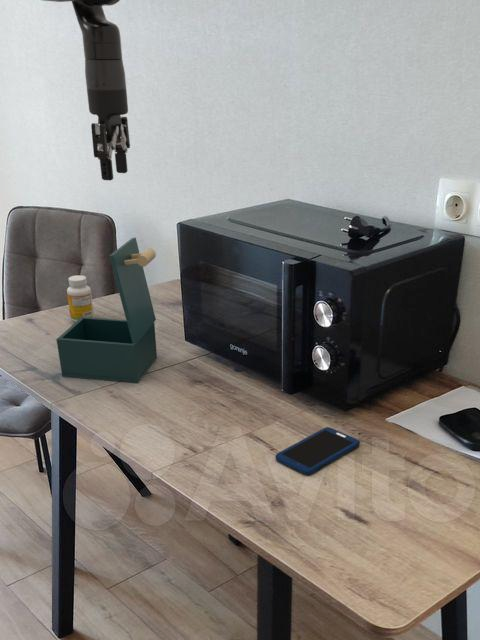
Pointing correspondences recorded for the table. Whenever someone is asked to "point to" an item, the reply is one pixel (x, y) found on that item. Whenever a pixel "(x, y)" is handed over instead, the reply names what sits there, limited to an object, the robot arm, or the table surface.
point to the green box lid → (134, 286)
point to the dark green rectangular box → (105, 350)
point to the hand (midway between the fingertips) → (115, 176)
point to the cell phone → (317, 450)
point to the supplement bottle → (79, 298)
